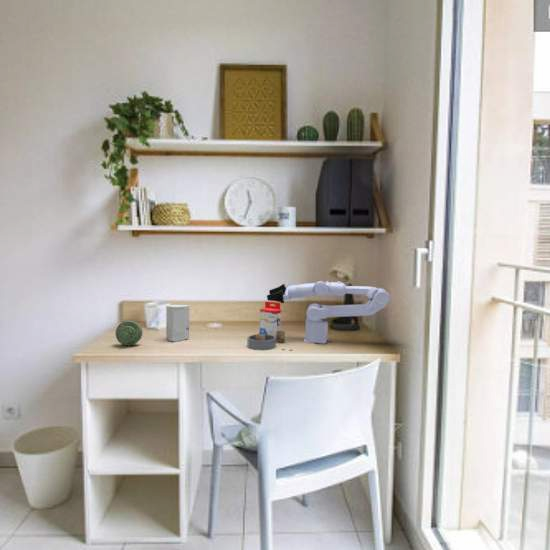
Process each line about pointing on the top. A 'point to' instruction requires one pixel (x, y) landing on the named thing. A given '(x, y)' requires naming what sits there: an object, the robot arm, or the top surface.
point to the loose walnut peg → (280, 336)
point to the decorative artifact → (128, 332)
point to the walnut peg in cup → (260, 337)
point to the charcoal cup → (261, 342)
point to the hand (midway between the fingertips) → (268, 295)
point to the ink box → (270, 318)
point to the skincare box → (177, 322)
